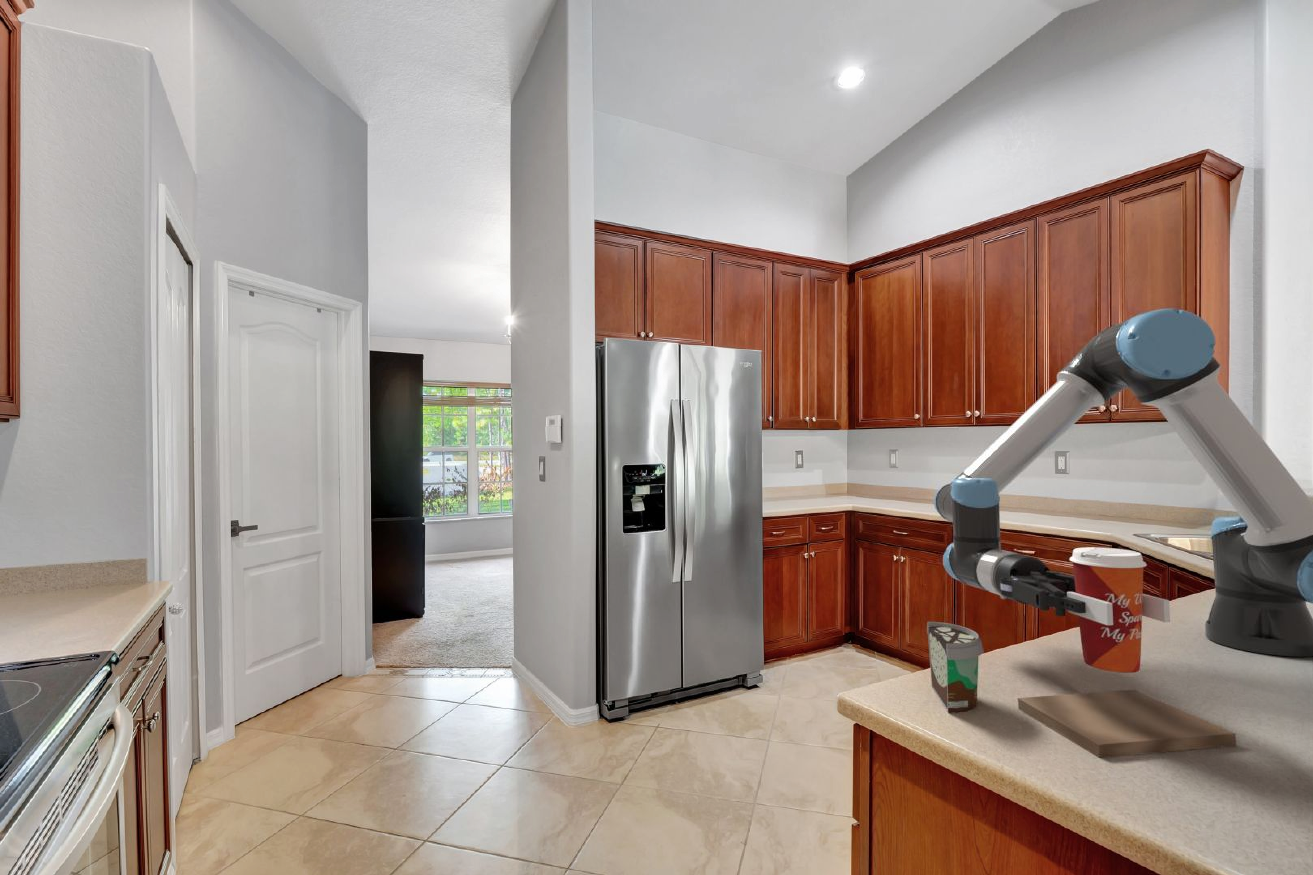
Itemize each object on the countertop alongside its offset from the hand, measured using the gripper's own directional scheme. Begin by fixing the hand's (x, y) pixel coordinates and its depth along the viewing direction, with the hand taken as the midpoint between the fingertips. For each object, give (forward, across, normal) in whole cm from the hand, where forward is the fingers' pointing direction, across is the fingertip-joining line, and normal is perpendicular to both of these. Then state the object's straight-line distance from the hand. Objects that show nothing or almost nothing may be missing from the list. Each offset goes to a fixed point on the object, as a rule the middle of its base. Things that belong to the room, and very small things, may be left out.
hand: (1138, 612), depth 76 cm
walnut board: (-4, 0, -16) cm, 17 cm away
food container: (-15, +14, -16) cm, 27 cm away
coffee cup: (-4, 0, -8) cm, 9 cm away
